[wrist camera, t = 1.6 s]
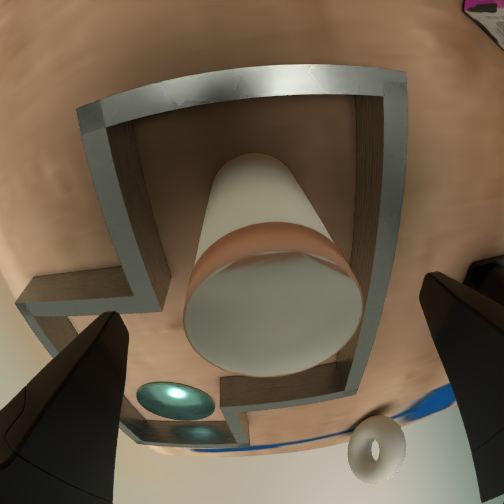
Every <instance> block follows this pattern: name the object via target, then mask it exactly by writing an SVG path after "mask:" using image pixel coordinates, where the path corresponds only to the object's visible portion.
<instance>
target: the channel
mask: <svg viewBox="0 0 504 504" xmlns="http://www.w3.org/2000/svg"><path fill="white" fill-rule="evenodd" d="M300 94H352V95H355V99H356V126H357V173H356V201H355V219H354V233H353V246H352V256H351V266H350V269H351V270H352V272H353V274H354V276H355V278H356V279H357V281H358V283H359V286H360V288H361V290H362V294H363V302H364V308H363V315H362V318H361V322H360V324H359V326H358V328H357V330H356V332H355V333H354V335H353V337H352V338H351V339H350V340H349V342H348V343H347V344H346V345H345V346H344V347H343V348H342V349H341V350H340V351H338V355H337V360H336V363H331V364H326V365H320V366H314V367H312V368H310V369H307V370H304V371H301V372H298V373H294V374H290V375H285V376H278V377H250V376H232V377H220V409H221V411H222V413H223V415H224V417H225V419H226V421H212V422H174V421H152V420H145V419H144V418H143V417H142V416H141V415H140V413H139V412H138V411H137V410H136V409H135V408H134V407H133V406H132V405H131V403H130V402H129V401H128V400H127V399H126V398H125V396H124V395H123V401H122V407H121V414H120V422H119V428H120V429H121V430H122V431H123V432H124V433H125V434H127V435H128V436H129V437H130V438H131V439H132V440H134V441H135V442H136V443H137V444H144V445H154V446H168V447H190V448H222V447H244V446H250V439H249V423H248V420H247V417H246V414H245V412H249V411H260V410H269V409H278V408H286V407H293V406H300V405H306V404H312V403H318V402H323V401H328V400H333V399H338V398H343V397H347V396H352V395H356V393H357V390H358V387H359V385H360V382H361V379H362V376H363V373H364V370H365V367H366V364H367V361H368V358H369V355H370V352H371V349H372V345H373V342H374V339H375V335H376V332H377V328H378V325H379V321H380V317H381V314H382V310H383V306H384V302H385V297H386V293H387V289H388V284H389V280H390V275H391V270H392V265H393V260H394V255H395V249H396V243H397V237H398V231H399V224H400V217H401V210H402V201H403V192H404V182H405V170H406V154H407V122H408V109H407V78H406V72H403V71H397V70H390V69H382V68H373V67H362V66H348V65H325V64H295V65H271V66H257V67H246V68H237V69H229V70H221V71H214V72H208V73H202V74H196V75H191V76H186V77H181V78H176V79H171V80H167V81H162V82H158V83H154V84H150V85H146V86H143V87H139V88H135V89H132V90H129V91H125V92H122V93H119V94H116V95H112V96H109V97H106V98H103V99H101V100H98V101H95V102H92V103H89V104H87V105H84V106H82V107H79V108H76V110H77V116H78V121H79V126H80V131H81V135H82V140H83V144H84V149H85V153H86V157H87V161H88V165H89V168H90V172H91V176H92V179H93V183H94V186H95V190H96V193H97V197H98V200H99V203H100V206H101V209H102V213H103V216H104V219H105V222H106V225H107V227H108V230H109V233H110V236H111V239H112V242H113V244H114V247H115V250H116V252H117V255H118V258H119V260H120V263H121V265H122V266H121V267H113V268H105V269H96V270H88V271H80V272H71V273H63V274H55V275H47V276H38V277H33V279H32V280H31V281H30V283H29V284H28V285H27V287H26V288H25V289H24V291H23V292H22V293H21V295H20V296H19V298H18V299H17V300H16V302H15V304H16V306H17V308H18V309H19V311H20V312H21V314H22V315H23V317H24V318H25V320H26V322H27V323H28V325H29V326H30V328H31V329H32V330H33V332H34V333H35V335H36V336H37V337H38V339H39V340H40V341H41V343H42V344H43V345H44V347H45V348H46V350H47V351H48V352H49V353H50V355H51V356H52V357H53V358H54V357H55V356H56V355H58V354H59V353H60V352H61V351H62V350H63V349H64V348H65V347H66V346H67V345H68V344H69V343H70V342H71V341H72V340H73V339H75V338H76V337H77V336H78V334H77V332H76V331H75V329H74V328H73V326H72V324H71V323H70V321H69V320H68V318H67V316H85V315H101V314H102V313H103V312H106V311H116V312H118V313H119V314H131V313H148V312H162V310H163V306H164V303H165V299H166V295H167V292H168V288H169V284H170V281H171V275H170V272H169V268H168V265H167V262H166V259H165V256H164V252H163V249H162V246H161V242H160V239H159V235H158V232H157V228H156V225H155V221H154V218H153V214H152V210H151V207H150V203H149V199H148V195H147V191H146V187H145V183H144V179H143V175H142V170H141V166H140V162H139V157H138V153H137V148H136V143H135V138H134V134H133V128H132V123H131V120H133V119H136V118H140V117H144V116H148V115H152V114H157V113H161V112H166V111H170V110H175V109H180V108H185V107H190V106H196V105H202V104H208V103H214V102H221V101H228V100H236V99H245V98H255V97H266V96H280V95H300ZM137 400H138V402H139V403H140V404H141V405H142V406H143V407H144V408H145V409H147V410H148V411H150V412H152V413H154V414H156V415H159V416H162V417H165V418H169V419H174V420H185V421H189V420H199V419H203V418H206V417H208V416H210V415H211V414H212V413H213V412H214V409H215V403H214V401H213V399H212V398H211V397H210V396H208V395H207V394H206V393H204V392H202V391H200V390H198V389H196V388H193V387H190V386H186V385H182V384H177V383H169V382H155V383H149V384H146V385H143V386H142V387H140V388H139V389H138V391H137Z"/></svg>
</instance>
